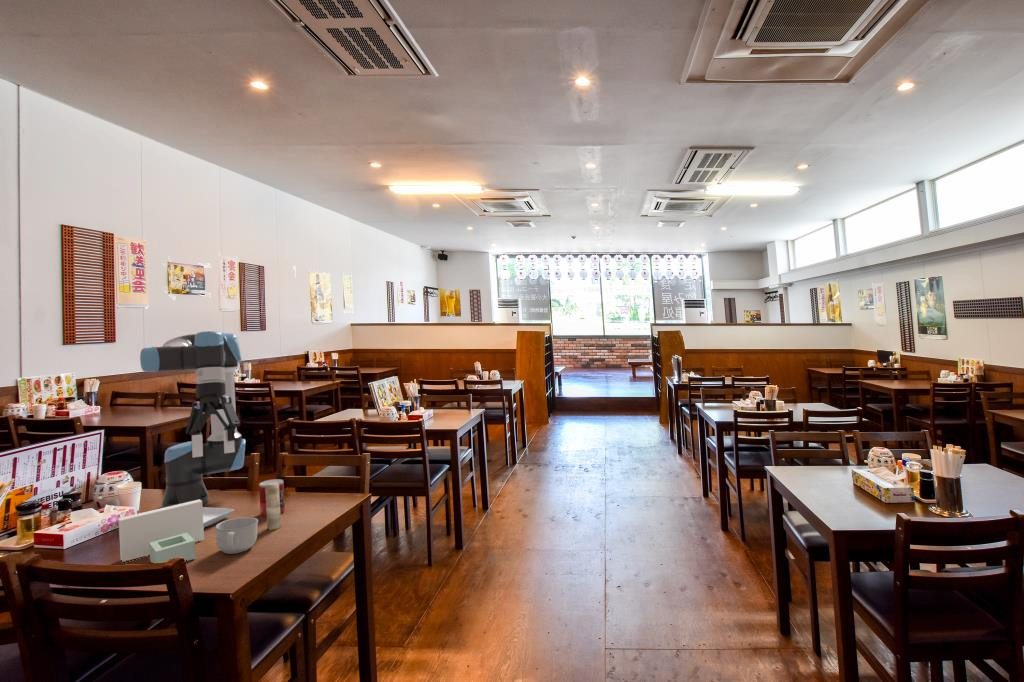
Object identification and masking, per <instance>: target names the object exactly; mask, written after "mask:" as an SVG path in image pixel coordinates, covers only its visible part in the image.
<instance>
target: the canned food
mask: <svg viewBox="0 0 1024 682" xmlns="http://www.w3.org/2000/svg"><path fill="white" fill-rule="evenodd" d="M271 483H279V496H280V513H282V512H283V513H284V512H285V511H286V507H285V505H286V504H285V485H284V484H285V483H284V479H279V478H278V479H277V478H276V479H275V478H274V479H273V478H272V479H267V480H264V481H262V482H259V484H258V493H259V508H260V509H259V511H260V512H259V513H260V515H261V516H262V515H263V516H267V512H266V492H265V485H267V484H271ZM283 513H282V514H283ZM263 516H262V517H263Z"/></svg>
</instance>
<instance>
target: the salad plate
mask: <svg viewBox="0 0 1024 682" xmlns="http://www.w3.org/2000/svg"><path fill="white" fill-rule="evenodd" d="M234 511H235V509H234V508H223V507H207V506H205V507H203V526H204V529H205V527H206V528H207V527H209V526H212V525H214V524H217V523H218V522H220V521H222V520H224V519H226V518H227V517H229V516H231V514H233V512H234Z"/></svg>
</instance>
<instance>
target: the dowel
mask: <svg viewBox="0 0 1024 682" xmlns="http://www.w3.org/2000/svg"><path fill="white" fill-rule="evenodd" d="M265 492H266V512H267V517H266V528H267V529H269V530H268V531H273V530H272V529H276V530H278V529H277V528H279V529H280V528H281V527H282V520H281V514H280V496H279V483H271V484H267V485H265ZM267 529H266V530H267ZM270 529H271V530H270Z"/></svg>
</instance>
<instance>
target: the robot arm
mask: <svg viewBox="0 0 1024 682" xmlns="http://www.w3.org/2000/svg"><path fill="white" fill-rule="evenodd" d="M139 354H140V356H139V359H140V360H139V361H140V368H141V370H142V371H143V372H144V373H145V372H146V373H151V372H152V373H158V372H171V371H172V372H173V371H188V370H189V371H190V370H195V382H196V386H195V392H196V393H195V395H196V397H197V398H199V401H192V402H191V410H190V415H189V419H188V421H187V425H186V429H185V434H186V435H187V434H188V435H189V436H191V441H186V442H185V441H184V442H182V443H179V444H175V445H172V446H170V447H168V448H167V449H166V450H165V453H164V461H163V462H164V469H165V470H164V471H165V491H164V494H163V497H162V500H161V507H160V508H165V507H169V506H173V505H177V504H182V503H186V502H190V501H195V500H199V499H200V500H201V501H202V506H204V505H205V503H206V504H208V502H209V501H210V495H209V491H208V490H207V488H206V485H205V483H204V479H203V476H204V475H209V474H216V473H217V474H218V473H223V472H224V473H225V472H231V471H235V470H240V469H242V468H243V467H244V462H245V451H246V439H245V438H242V434H241V433H240V432H239V431H238V428H237V427H241V422H240V420H239V417H238V415H237V411H236V410H237V409H236V408H237V406H236V392H235V391H236V389H235V370H237V369H238V367H239V363H242V355H241V348H240V345H239V340H238V337H237V334H235V333H226V332H220V331H212V330H211V331H210V330H209V331H200V332H199V331H198V332H197V333H193V334H191V333H190V334H185V335H181V336H178V337H174V338H171V339H169V340H167V341H166V342H164V344H162V346H151V347H143V348H142V349H141V350H140V353H139ZM209 417H210V426H211V428H210V429H211V430H210V431H211V432H210V433H211V434H210V435H209V437H208V438H207V439H206V440H207V443H203V433H202V430H203V429H204V426H205V424H206V423H207V420H208V418H209Z"/></svg>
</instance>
